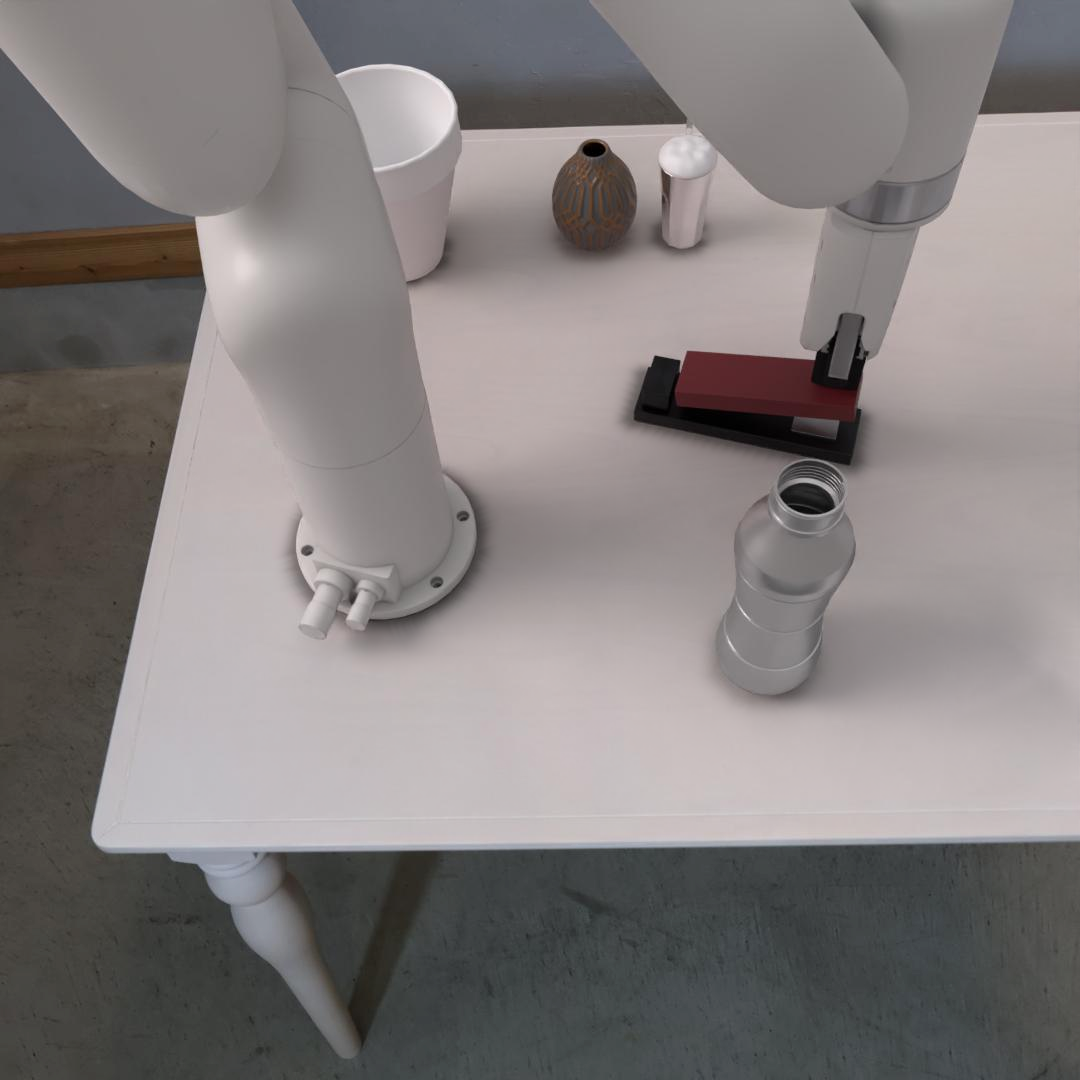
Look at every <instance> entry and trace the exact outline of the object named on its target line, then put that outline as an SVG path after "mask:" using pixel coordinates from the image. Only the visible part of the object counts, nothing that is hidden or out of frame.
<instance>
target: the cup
mask: <svg viewBox="0 0 1080 1080" xmlns="http://www.w3.org/2000/svg"><path fill="white" fill-rule="evenodd" d="M335 76H336V78H337V79H338V81H339V83H340V85H341V87H342V88H343V90H344V92H345V94H346V96H347V98H348V99H349V101H350V103H351V105H352V107H353V109H354V111H355V114H356V116H357V119H358V121H359V124H360V127H361V130H362V133H363V136H364V139H365V142H366V145H367V149H368V152H369V156H370V159H371V163H372V166H373V170H374V173H375V176H376V180H377V183H378V185H379V188H380V191H381V194H382V197H383V200H384V204H385V207H386V211H387V214H388V218H389V221H390V224H391V227H392V231H393V234H394V238H395V241H396V244H397V248H398V251H399V255H400V259H401V262H402V266H403V270H404V274H405V278H406V283H407V282H411V281H416V280H419V279H421V278H424V276H427V275H428V274H430V273H431V272H432V271H434V270H435V269H436V267H437V266H438V265H439V264H440V262H441V260H442V258H443V255H444V250H445V242H446V234H447V228H448V227H447V226H448V221H449V215H450V214H449V213H450V206H451V201H452V199H451V198H452V192H453V185H454V179H455V171H456V165H457V163H458V161H459V159H460V157H461V154H462V152H463V147H462V146H463V135H462V130H461V126H460V121H459V116H458V113H459V112H458V110H459V109H458V108H459V106H458V103H457V101H456V98H455V95H454V93H453V92H452V90H451V89H450V88H449V87H448V86H447V85H446V83H444V82H443V80H441V79H440V78H438V77H437V76H434V75H433V74H432V73H430V72H428V71H425V70H422V69H419V68H416V67H413V66H409V65H402V64H394V63H381V64H379V63H378V64H367V65H363V66H358V67H354V68H350V69H347V70H345V71H341V72H339V73H336V74H335Z"/></svg>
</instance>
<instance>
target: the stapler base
mask: <svg viewBox="0 0 1080 1080" xmlns="http://www.w3.org/2000/svg"><path fill="white" fill-rule="evenodd" d="M646 369H647V370H646V373H645V375H644V378H643V381H642V385H641V388H640V391H639V394H638V396H637V400H636V404H635V405H634V410H633V421H636V422H640V423H645V424H650V425H655V426H659V427H665V428H669V429H673V430H678V431H683V432H688V433H692V434H697V435H702V436H707V437H711V438H715V439H721V440H726V441H729V442H730V441H731V442H735V443H740V444H745V445H750V446H754V447H760V448H764V449H769V450H773V451H779V452H784V453H789V454H794V455H798V456H803V457H808V458H811V459H819V460H822V461H825V462H831V463H836V464H842V465H847V466H850V465H851V463H852V459H853V456H854V452H855V447H856V442H857V436H858V431H859V430H858V429H859V426H860V422H861V421H860V420H861V416H862V410H863V409H862V408H858V407H857V411H856V416H855V421H854V422H849V421H838V420H827V419H816V418H805V417H794V416H783V415H772V414H760V413H749V412H738V411H727V410H716V409H705V408H694V407H683V406H677V403H676V397H675V389H676V385H677V382H678V379H679V375H680V372H681V359H676V358H671V357H667V356H661V355H657V354H655V355H654V356H653V359H652V361H651V364H650V366H648V367H647V368H646Z"/></svg>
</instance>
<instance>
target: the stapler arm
mask: <svg viewBox="0 0 1080 1080" xmlns="http://www.w3.org/2000/svg"><path fill="white" fill-rule="evenodd" d="M814 362H815V359H808V358H797V357H796V358H794V357H793V358H792V357H781V356H780V357H779V356H767V355H754V354H741V353H726V352H711V351H700V350H699V351H698V350H686V353H685V357H684V359H683V362H682V365H681V368H680V375H679V379H678V382H677V385H676V389H675V397H676V403H677V406H683V407H694V408H705V409H716V410H727V411H738V412H749V413H760V414H772V415H783V416H794V417H805V418H816V419H827V420H838V421H849V422H854V421H855V416H856V411H857V408H858V406H859V401H860V395H861V391H862V385H863V381H864V371H863V372H862V376H861V380H860V383H859V387H858V389H857V390H855V391H851V390H845V389H840V388H833V387H828V386H824V385H818V384H814V383H812V382H811V376H812V371H813V367H814Z"/></svg>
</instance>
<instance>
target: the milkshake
mask: <svg viewBox="0 0 1080 1080" xmlns="http://www.w3.org/2000/svg"><path fill="white" fill-rule="evenodd" d="M685 125H686V128H685V129H686V130H685V135H676V136H674V137H672V138H671V139H668V140H667V141H666V142H665V143H664V144H663V145H662V147H661V148H660V150H659V152H658V156H657V158H658V173H659V185H660V198H661V199H660V200H661V201H660V202H661V203H660V204H661V229H662V230H661V232H662V233H661V234H662V239H663V240H664V242H665V243H666V244H667V245H668V246H669V247H671V248H676V249H679V250H683V249H688V248H693V247H695V245H697V244H698V243H699V242H700V241H701V239H702V235H703V229H704V225H705V218H706V213H707V209H708V204H709V198H710V193H711V190H712V185H713V181H714V176H715V172H716V168H717V165H718V161H719V160H718V158H719V156H718V155H719V154H718V153H719V152H718V151H717V150H716V149H715V148H714V147H713V146H712V145H711V144H710V142H709V141H708V140H707V139H706V138H705V137H704V136H696V135H693V127H694V125H693V124H692V123H691V121H690V120H689V119H688V118H687V117H686V124H685Z"/></svg>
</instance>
